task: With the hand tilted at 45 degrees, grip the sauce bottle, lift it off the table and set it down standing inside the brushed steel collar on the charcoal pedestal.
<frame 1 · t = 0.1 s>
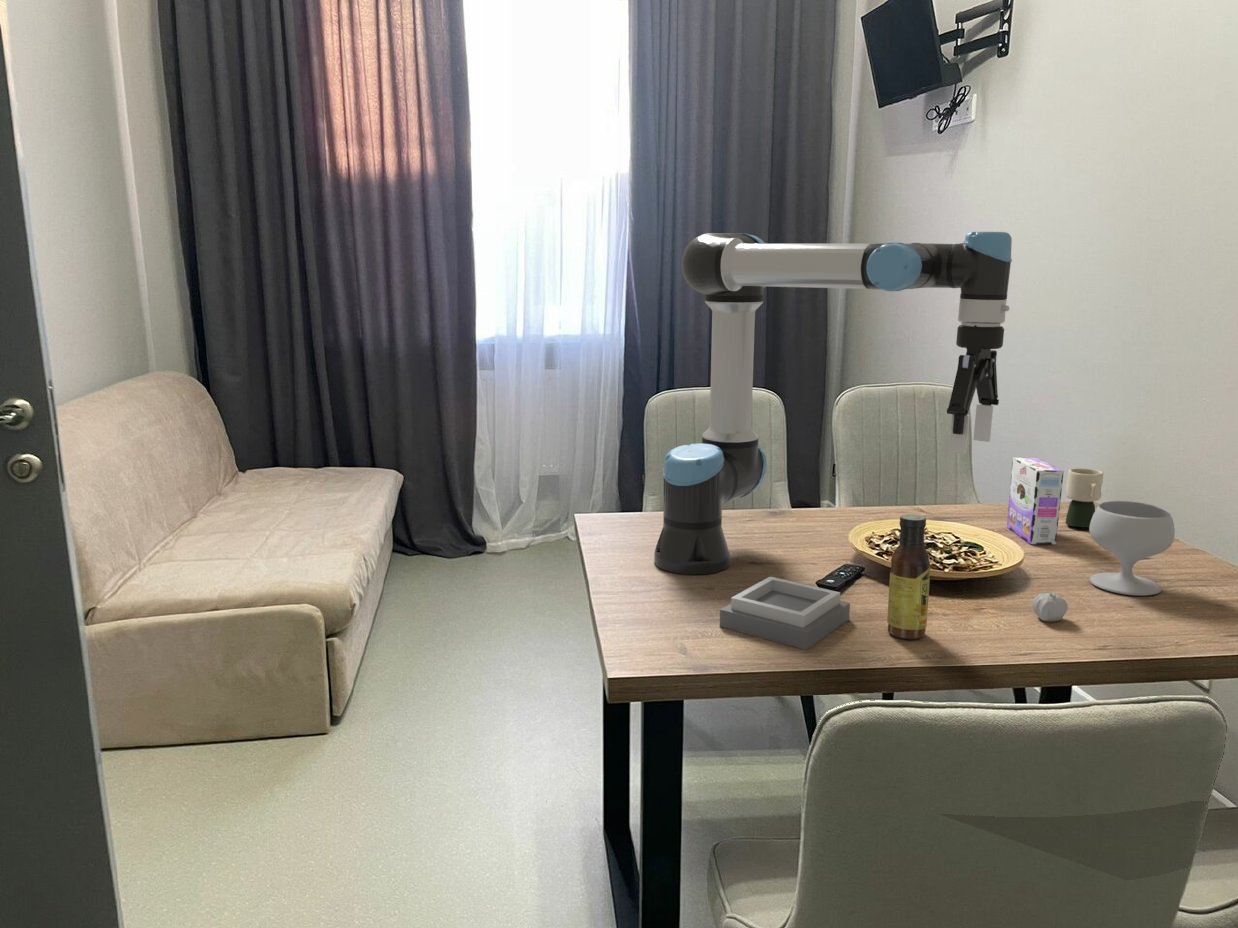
hand: (970, 446, 169), 28 cm above the table, tool pointing down, fingers open, 13 cm apart
candy box: (1030, 536, 213), on the table
garlic: (1048, 620, 165), on the table
sauce bottle: (905, 634, 159), on the table
chalice: (1124, 587, 181), on the table
character mug: (1079, 527, 219), on the table
pedestal: (785, 622, 163), on the table
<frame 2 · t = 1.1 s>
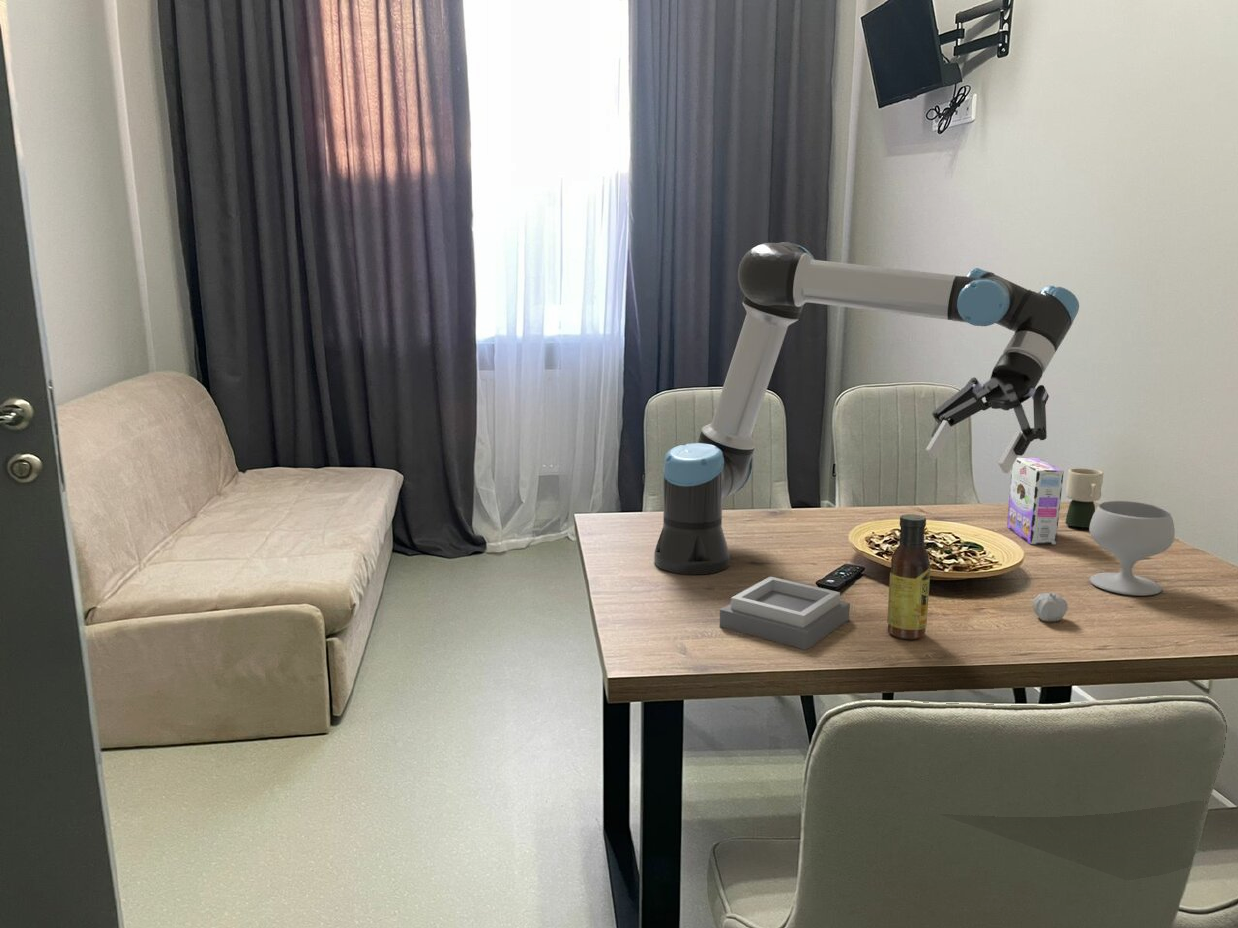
hand: (965, 461, 161), 27 cm above the table, tool tilted 45°, fingers open, 13 cm apart
nothing on the table moved.
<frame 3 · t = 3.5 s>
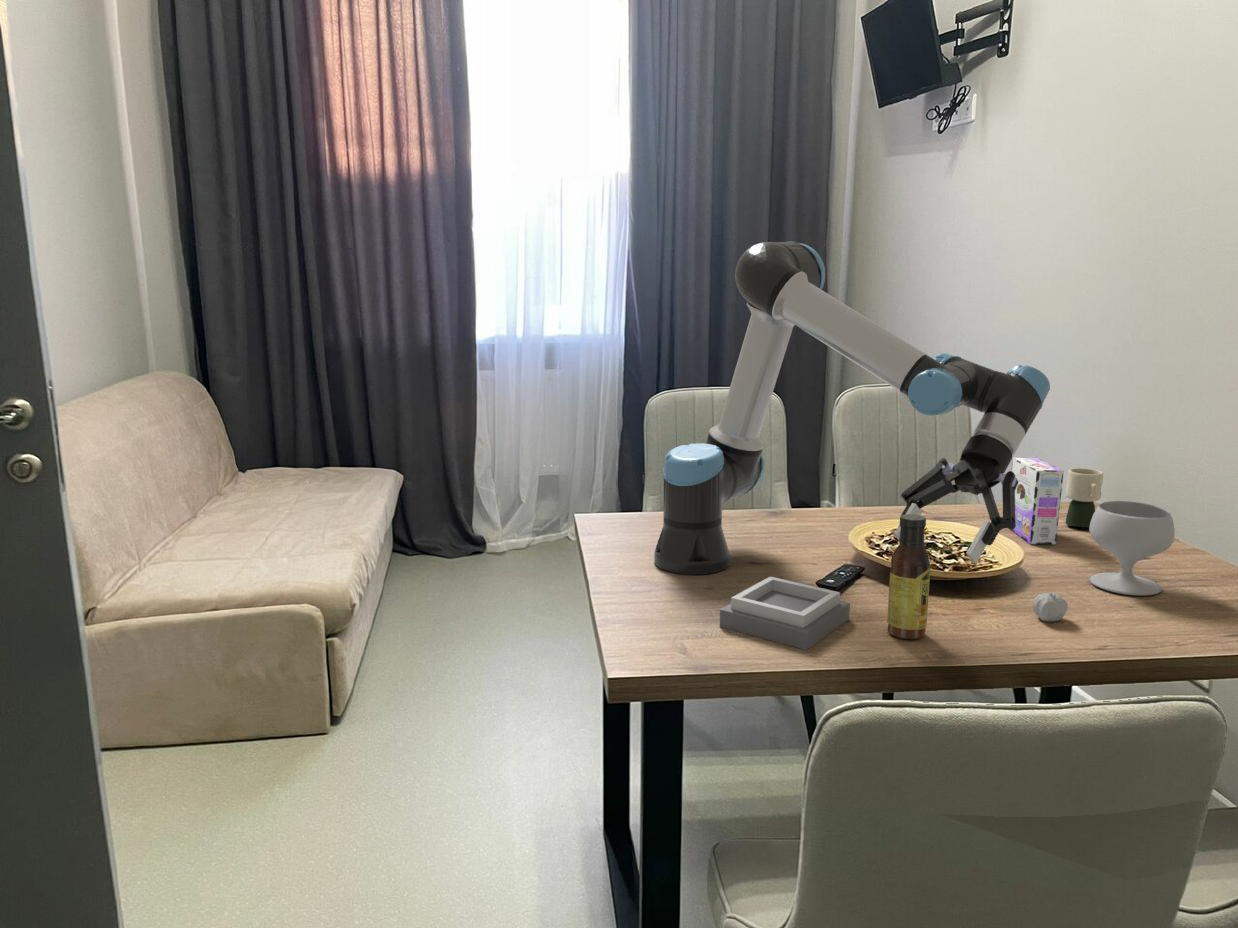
hand: (933, 548, 158), 14 cm above the table, tool tilted 45°, fingers open, 13 cm apart
nothing on the table moved.
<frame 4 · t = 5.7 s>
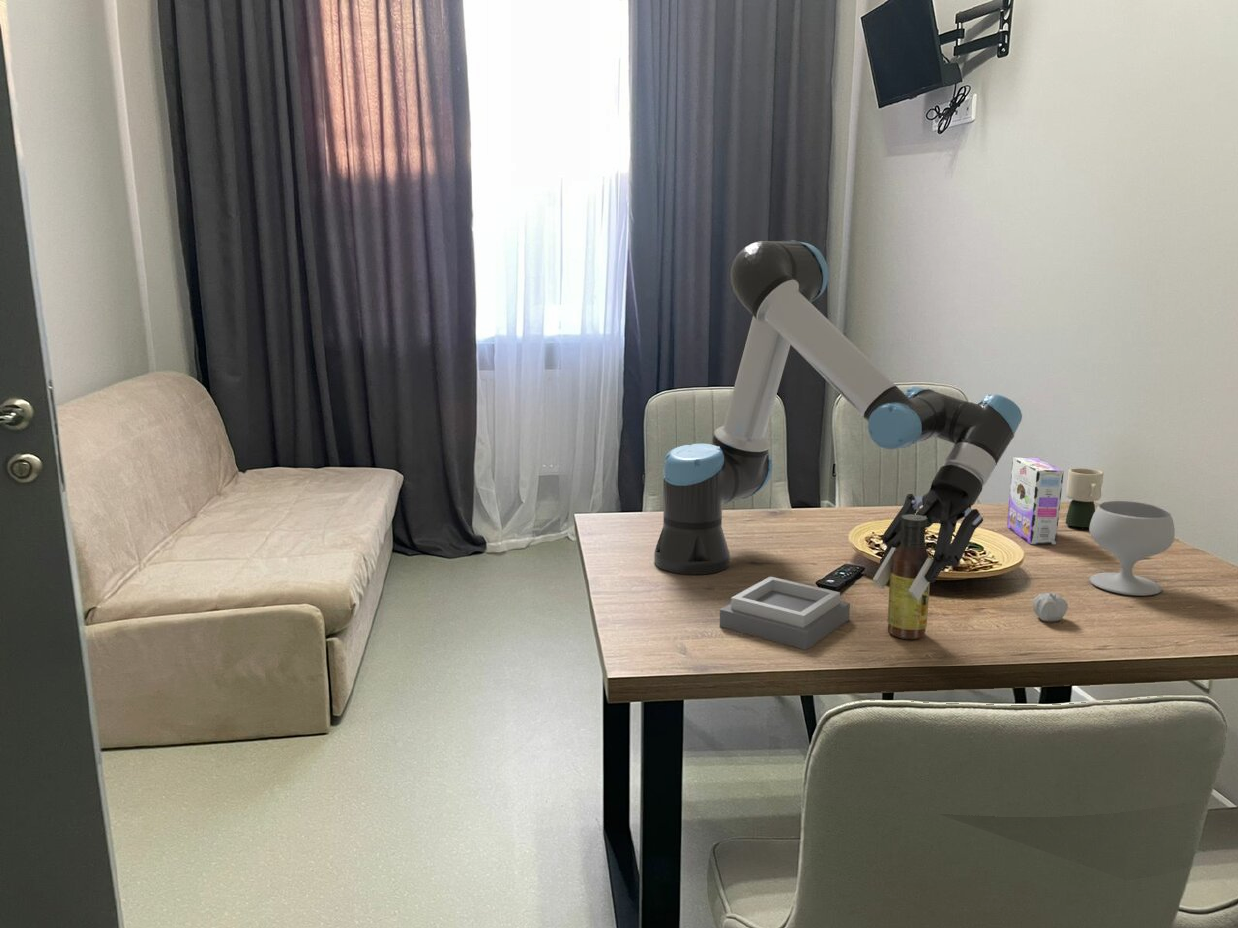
hand: (895, 589, 155), 8 cm above the table, tool tilted 45°, fingers closed on sauce bottle, 6 cm apart
sauce bottle: (905, 634, 159), on the table, touching gripper
everything else where it was.
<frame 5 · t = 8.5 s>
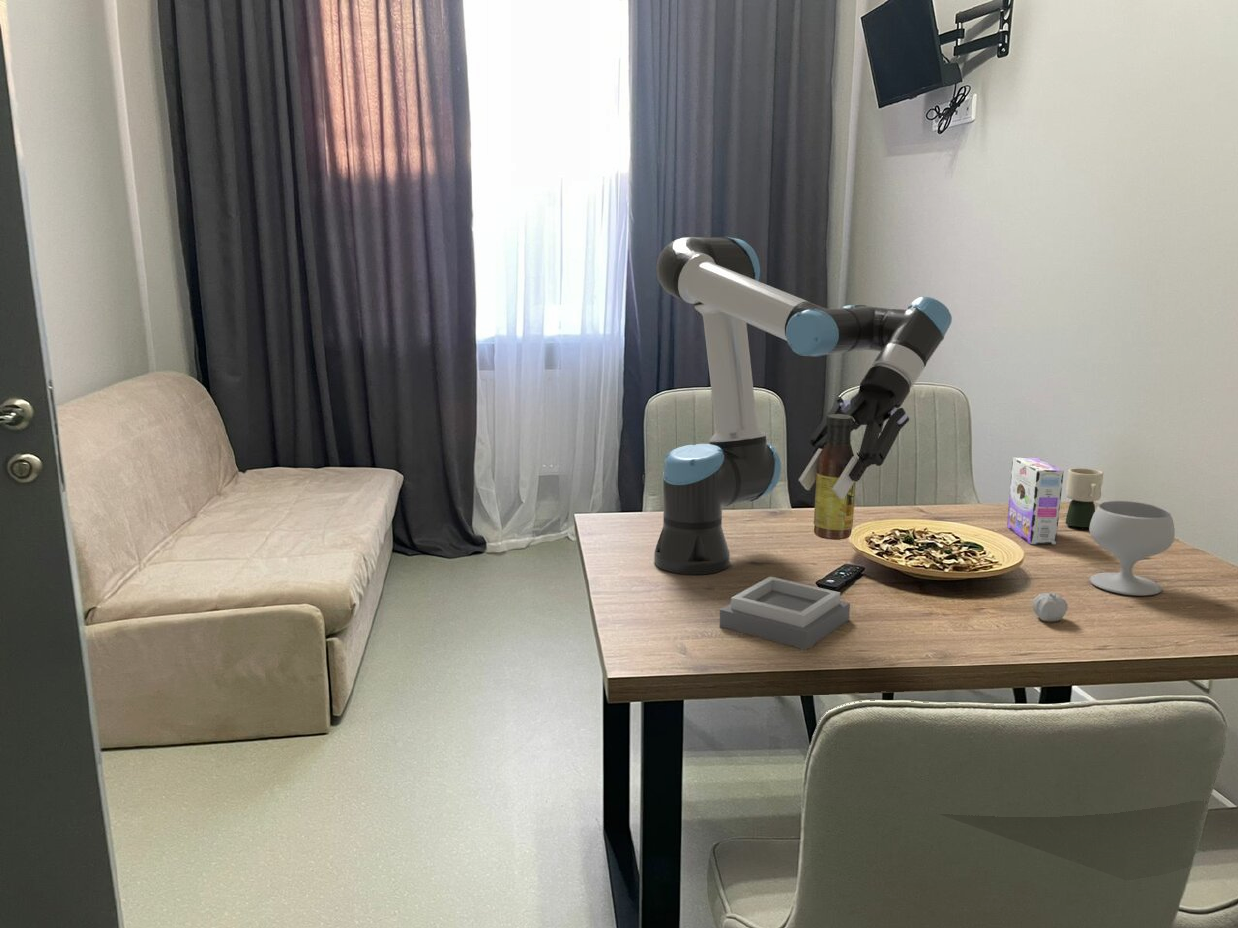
hand: (820, 489, 154), 24 cm above the table, tool tilted 45°, fingers closed on sauce bottle, 6 cm apart
sauce bottle: (832, 536, 158), point 16 cm above the table, touching gripper
everything else where it was.
when the fingers open (13 cm above the table, at t = 11.5 s): sauce bottle drops 1 cm, resting on pedestal.
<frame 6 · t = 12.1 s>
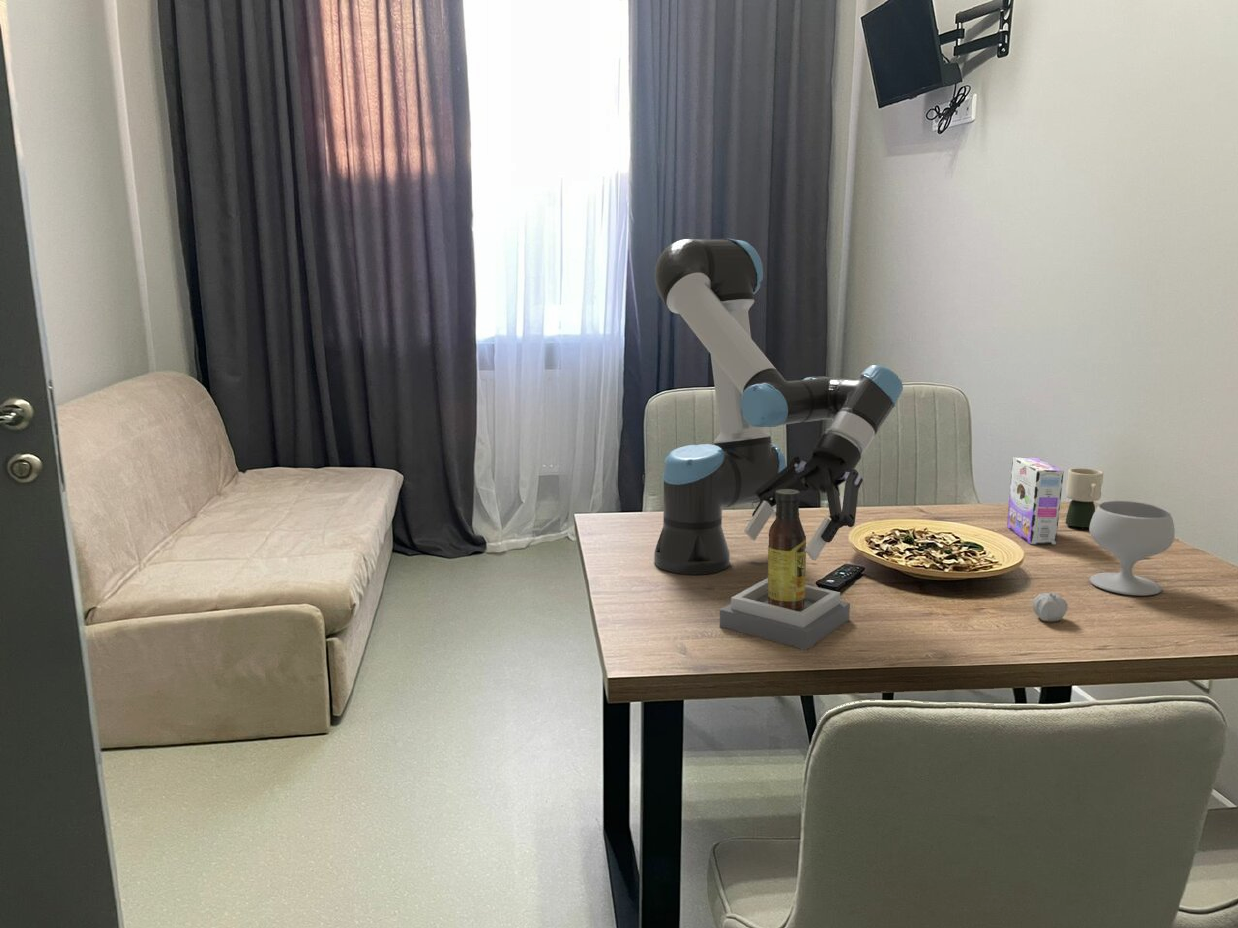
hand: (778, 545, 159), 14 cm above the table, tool tilted 45°, fingers open, 13 cm apart
sauce bottle: (786, 606, 163), point 3 cm above the table, touching pedestal
everything else where it was.
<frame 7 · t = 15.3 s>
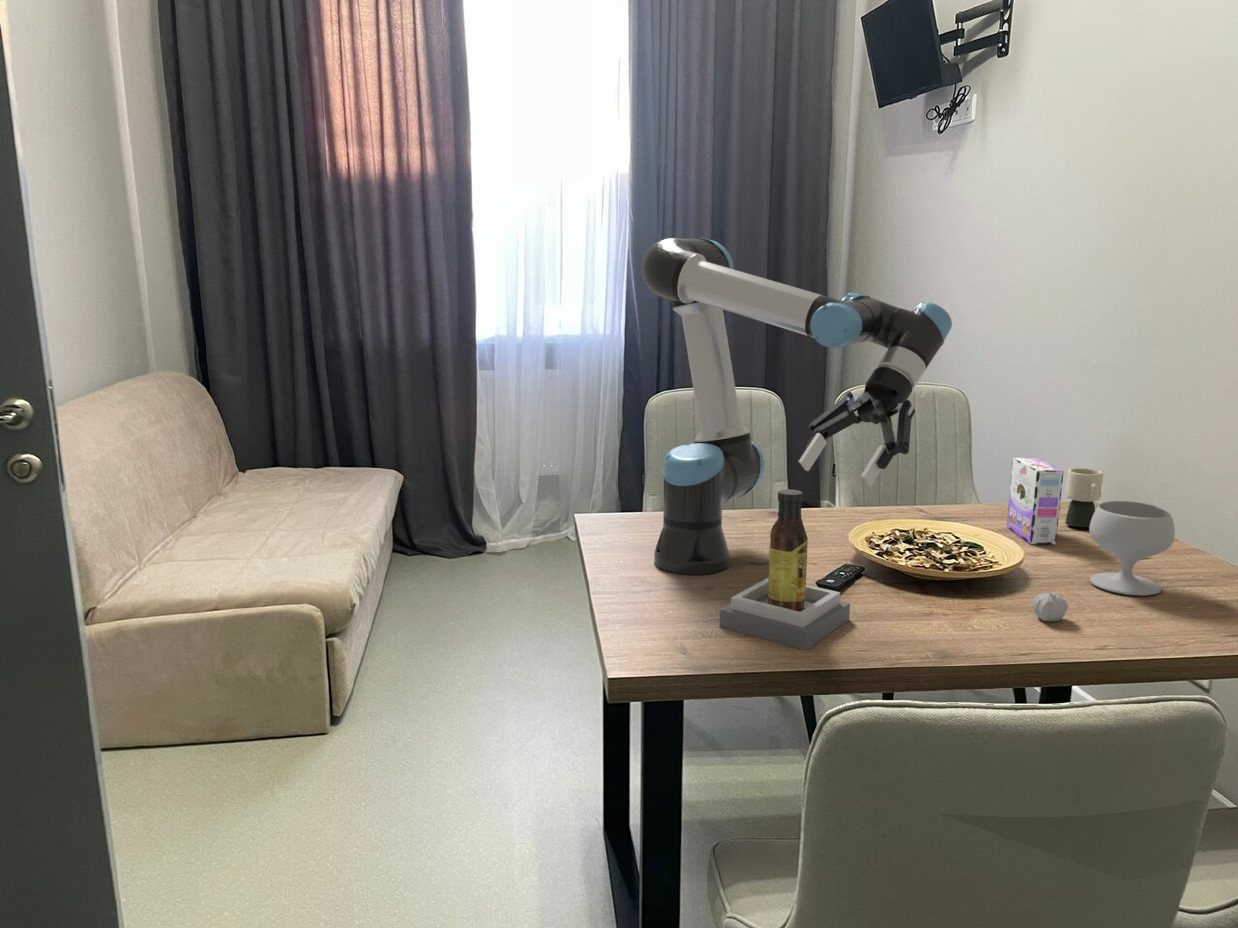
hand: (833, 473, 164), 24 cm above the table, tool tilted 45°, fingers open, 13 cm apart
nothing on the table moved.
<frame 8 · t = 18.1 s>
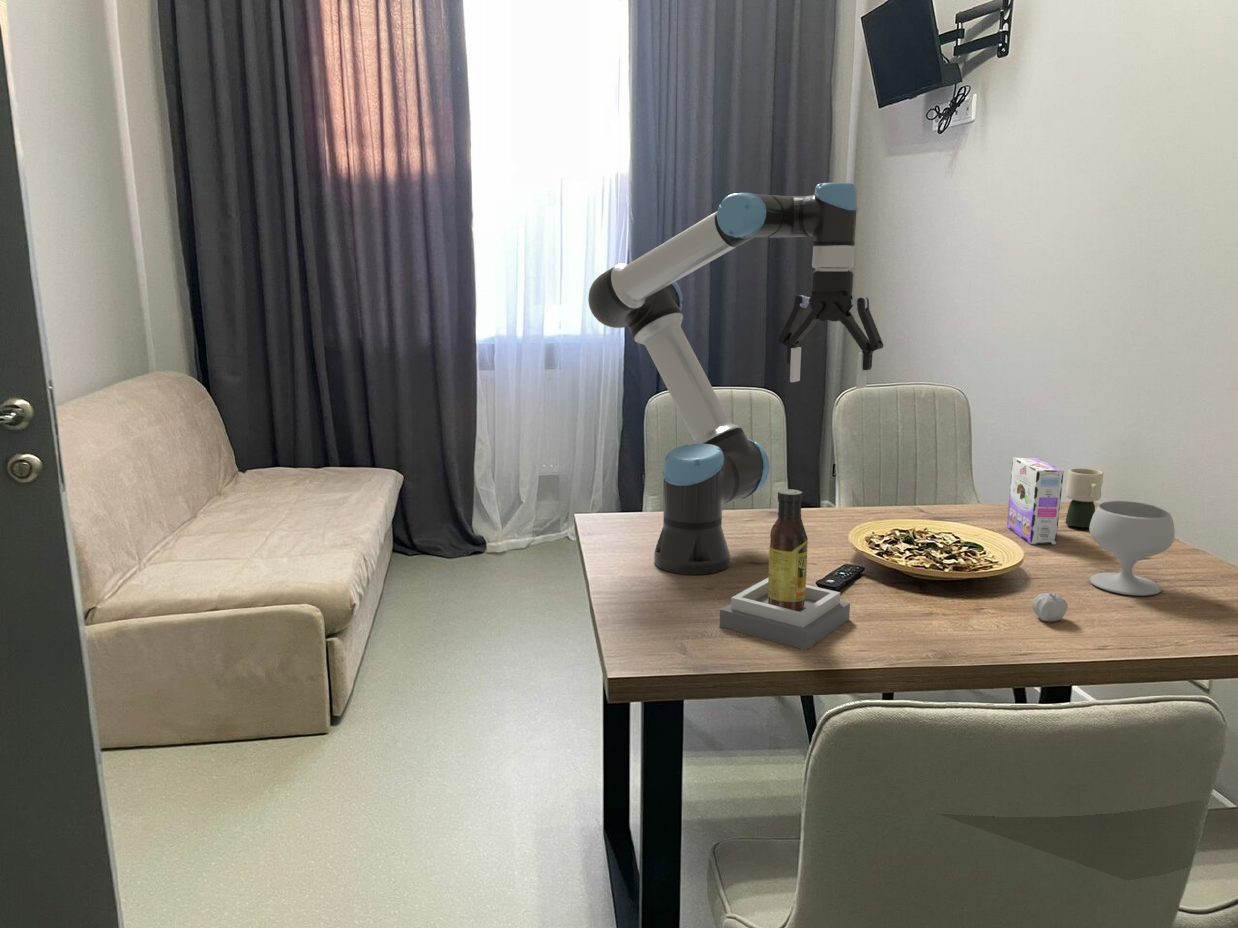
hand: (827, 384, 183), 37 cm above the table, tool pointing down, fingers open, 13 cm apart
nothing on the table moved.
at the end: sauce bottle inside the target area on the pedestal (0.1 cm from its centre), point 2.8 cm above the pedestal's base; sauce bottle tilted 0°; the gripper is holding nothing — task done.
